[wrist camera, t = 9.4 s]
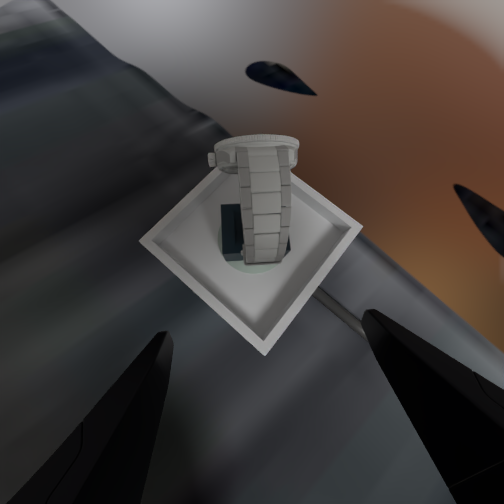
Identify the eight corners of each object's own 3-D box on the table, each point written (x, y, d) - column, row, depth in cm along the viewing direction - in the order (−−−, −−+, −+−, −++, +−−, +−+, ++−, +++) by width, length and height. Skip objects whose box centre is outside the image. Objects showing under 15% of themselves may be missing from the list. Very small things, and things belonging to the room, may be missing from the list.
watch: (277, 198, 21) (312, 89, 10) (285, 276, 19) (339, 245, 8) (222, 201, 20) (198, 91, 10) (225, 280, 18) (200, 253, 8)
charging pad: (448, 310, 20) (477, 312, 17) (370, 446, 17) (392, 472, 14) (245, 156, 23) (246, 138, 21) (151, 248, 20) (138, 241, 18)
